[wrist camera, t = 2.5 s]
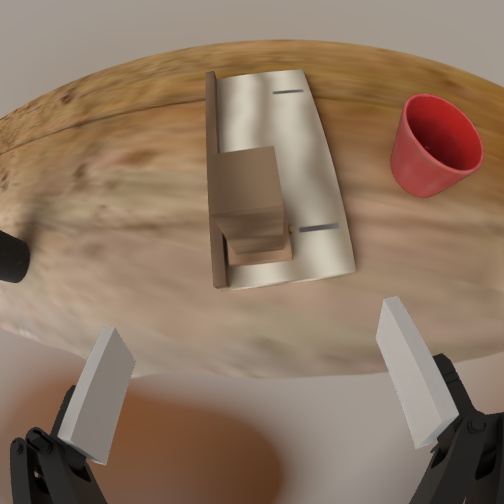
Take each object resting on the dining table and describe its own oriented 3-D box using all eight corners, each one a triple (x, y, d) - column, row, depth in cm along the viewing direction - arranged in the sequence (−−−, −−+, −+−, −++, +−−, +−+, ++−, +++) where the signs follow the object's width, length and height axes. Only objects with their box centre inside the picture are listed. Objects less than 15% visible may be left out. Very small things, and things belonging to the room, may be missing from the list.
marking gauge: (289, 204, 29) (292, 134, 18) (297, 259, 28) (309, 214, 16) (227, 212, 30) (197, 148, 18) (231, 267, 28) (198, 228, 17)
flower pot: (363, 168, 32) (385, 119, 23) (402, 126, 33) (425, 81, 24) (425, 226, 29) (467, 193, 20) (457, 175, 31) (492, 139, 21)
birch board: (302, 78, 37) (302, 60, 33) (351, 275, 29) (361, 268, 25) (211, 89, 38) (205, 72, 34) (221, 291, 30) (213, 286, 26)
